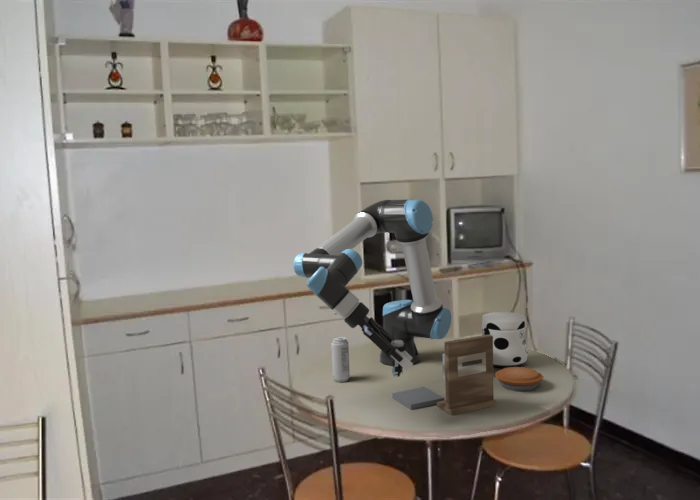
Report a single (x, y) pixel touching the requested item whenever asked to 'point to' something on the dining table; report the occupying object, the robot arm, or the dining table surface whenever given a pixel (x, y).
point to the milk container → (506, 338)
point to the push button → (396, 367)
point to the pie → (519, 378)
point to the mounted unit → (468, 374)
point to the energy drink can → (340, 359)
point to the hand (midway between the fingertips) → (409, 364)
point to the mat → (417, 397)
